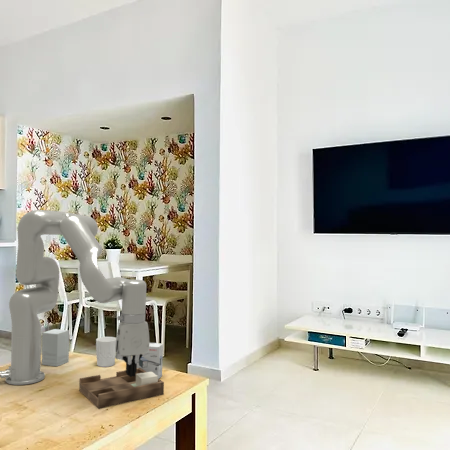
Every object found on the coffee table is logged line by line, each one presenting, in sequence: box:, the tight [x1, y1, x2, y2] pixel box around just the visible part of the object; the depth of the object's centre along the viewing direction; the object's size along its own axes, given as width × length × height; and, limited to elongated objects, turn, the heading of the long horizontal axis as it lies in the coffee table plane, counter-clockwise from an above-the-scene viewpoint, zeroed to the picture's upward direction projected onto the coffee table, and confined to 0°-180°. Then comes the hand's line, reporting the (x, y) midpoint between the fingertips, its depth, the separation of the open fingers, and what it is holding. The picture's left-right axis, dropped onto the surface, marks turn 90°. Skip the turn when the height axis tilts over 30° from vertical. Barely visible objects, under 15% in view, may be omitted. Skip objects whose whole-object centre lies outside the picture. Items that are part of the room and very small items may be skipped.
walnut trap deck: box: [78, 368, 165, 410], centre depth 147 cm, size 22×18×4 cm
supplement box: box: [41, 328, 70, 367], centre depth 177 cm, size 7×7×13 cm
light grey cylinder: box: [95, 336, 117, 368], centre depth 177 cm, size 8×8×10 cm
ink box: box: [137, 342, 164, 379], centre depth 163 cm, size 9×5×12 cm, turn 81°
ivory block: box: [136, 372, 158, 386], centre depth 147 cm, size 6×6×4 cm
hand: (131, 375), depth 145 cm, fingers closed
